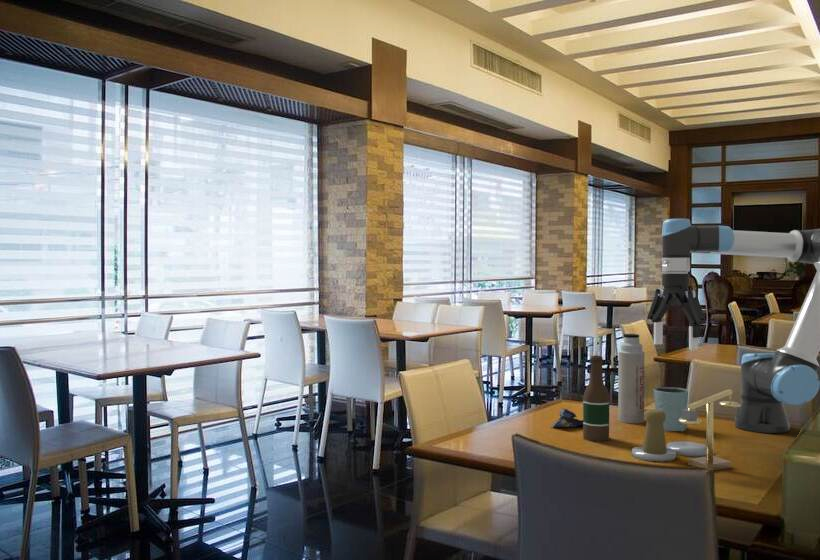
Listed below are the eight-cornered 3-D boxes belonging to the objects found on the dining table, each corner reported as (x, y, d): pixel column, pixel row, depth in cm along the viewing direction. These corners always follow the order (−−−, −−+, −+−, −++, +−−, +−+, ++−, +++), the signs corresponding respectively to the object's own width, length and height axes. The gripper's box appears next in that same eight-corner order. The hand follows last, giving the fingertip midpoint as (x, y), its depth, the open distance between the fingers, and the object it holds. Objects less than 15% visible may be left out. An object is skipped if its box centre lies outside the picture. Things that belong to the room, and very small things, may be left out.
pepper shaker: (668, 455, 181) (668, 412, 181) (643, 453, 183) (644, 411, 182) (665, 449, 187) (665, 408, 187) (641, 447, 189) (642, 406, 188)
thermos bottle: (649, 421, 224) (650, 334, 224) (631, 424, 221) (631, 335, 220) (631, 417, 232) (631, 332, 231) (612, 419, 228) (613, 333, 227)
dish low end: (654, 448, 192) (654, 444, 192) (685, 458, 182) (685, 454, 182) (622, 453, 188) (622, 448, 188) (652, 463, 178) (652, 459, 178)
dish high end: (688, 444, 197) (688, 439, 197) (719, 453, 187) (719, 449, 187) (657, 448, 193) (657, 443, 192) (688, 458, 182) (688, 453, 182)
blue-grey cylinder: (677, 433, 209) (678, 393, 208) (646, 428, 216) (646, 389, 216) (694, 428, 215) (694, 389, 215) (663, 423, 223) (663, 385, 223)
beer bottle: (578, 435, 207) (579, 354, 206) (604, 435, 208) (604, 354, 207) (587, 442, 199) (587, 358, 199) (614, 441, 200) (614, 357, 199)
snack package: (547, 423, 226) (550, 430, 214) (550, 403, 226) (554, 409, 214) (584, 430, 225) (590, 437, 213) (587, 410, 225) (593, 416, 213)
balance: (727, 458, 182) (727, 386, 181) (746, 465, 176) (747, 390, 176) (672, 467, 174) (672, 392, 174) (690, 474, 169) (691, 396, 168)
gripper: (635, 272, 211) (634, 342, 211) (699, 273, 188) (699, 352, 189) (654, 272, 214) (654, 341, 214) (720, 273, 191) (720, 351, 192)
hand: (675, 346), depth 202 cm, fingers open, 13 cm apart
